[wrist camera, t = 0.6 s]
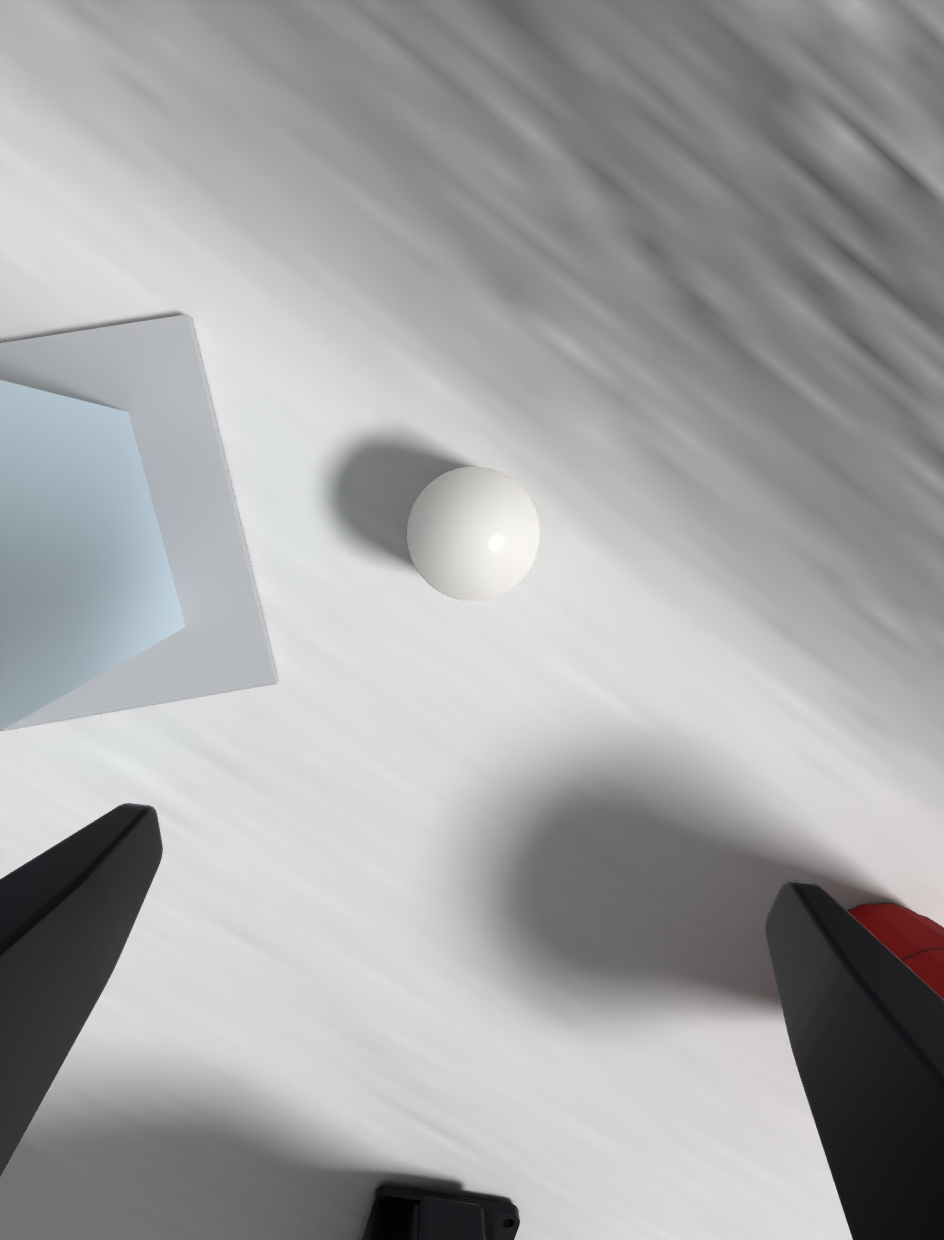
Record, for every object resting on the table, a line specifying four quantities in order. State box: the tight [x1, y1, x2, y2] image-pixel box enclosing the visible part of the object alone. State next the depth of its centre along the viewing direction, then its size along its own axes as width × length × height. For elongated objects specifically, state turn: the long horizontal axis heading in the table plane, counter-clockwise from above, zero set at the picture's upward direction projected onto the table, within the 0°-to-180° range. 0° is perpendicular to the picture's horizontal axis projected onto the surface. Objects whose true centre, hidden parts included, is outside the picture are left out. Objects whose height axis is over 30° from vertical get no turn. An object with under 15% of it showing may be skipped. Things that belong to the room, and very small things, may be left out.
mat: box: [0, 314, 279, 731], centre depth 20 cm, size 12×12×1 cm
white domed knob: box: [407, 466, 540, 601], centre depth 20 cm, size 4×4×3 cm
